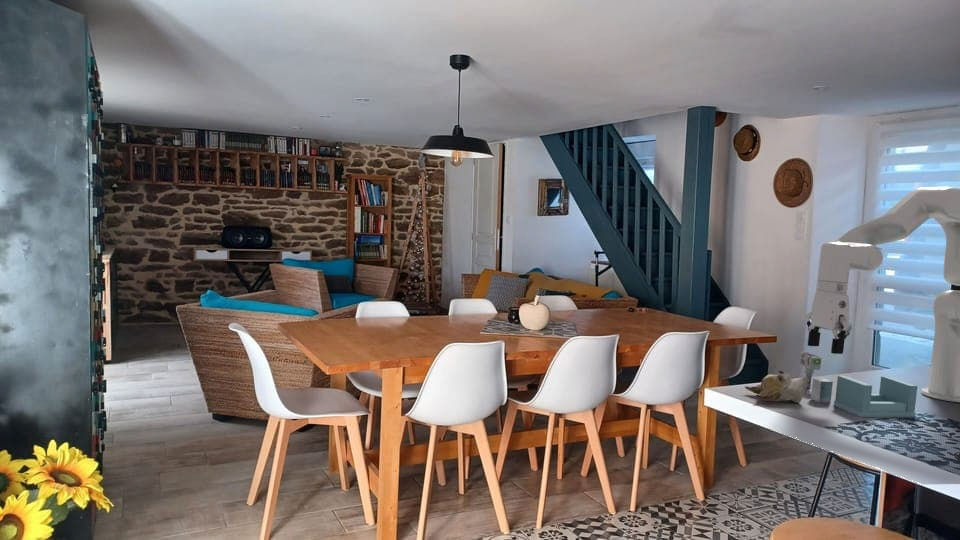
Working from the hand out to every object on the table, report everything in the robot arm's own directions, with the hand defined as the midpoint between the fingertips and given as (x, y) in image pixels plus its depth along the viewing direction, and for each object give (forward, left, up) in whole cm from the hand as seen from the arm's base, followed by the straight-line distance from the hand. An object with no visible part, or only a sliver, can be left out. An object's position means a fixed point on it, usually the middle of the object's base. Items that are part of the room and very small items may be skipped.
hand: (824, 349), depth 184 cm
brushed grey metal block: (0, 0, -15) cm, 15 cm away
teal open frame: (-9, +9, -14) cm, 19 cm away
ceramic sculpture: (+13, 0, -15) cm, 20 cm away
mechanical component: (-6, -14, -15) cm, 21 cm away
